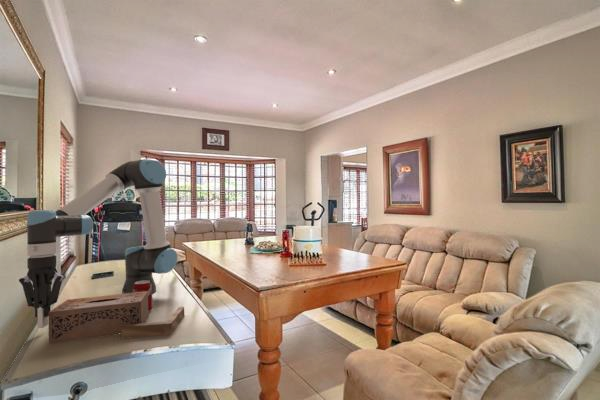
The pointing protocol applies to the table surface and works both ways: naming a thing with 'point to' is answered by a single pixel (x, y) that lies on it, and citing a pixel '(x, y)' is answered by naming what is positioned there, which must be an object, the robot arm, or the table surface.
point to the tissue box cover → (96, 316)
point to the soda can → (144, 286)
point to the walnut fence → (154, 326)
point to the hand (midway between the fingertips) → (42, 326)
